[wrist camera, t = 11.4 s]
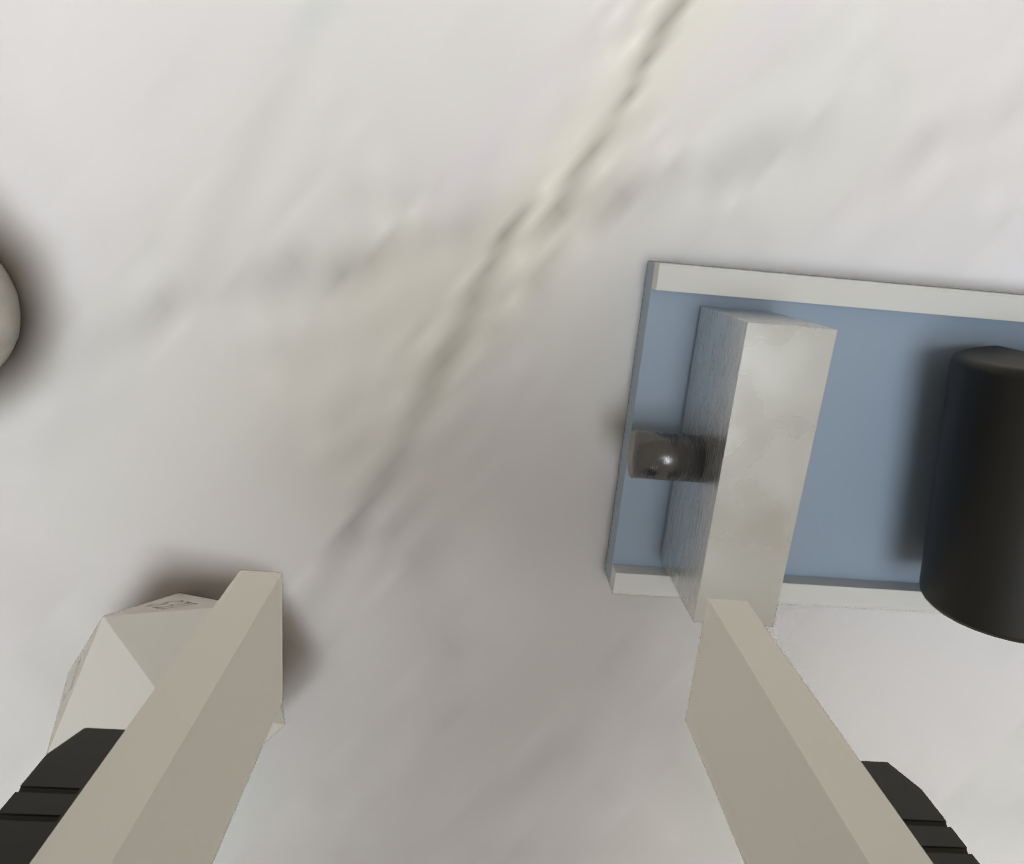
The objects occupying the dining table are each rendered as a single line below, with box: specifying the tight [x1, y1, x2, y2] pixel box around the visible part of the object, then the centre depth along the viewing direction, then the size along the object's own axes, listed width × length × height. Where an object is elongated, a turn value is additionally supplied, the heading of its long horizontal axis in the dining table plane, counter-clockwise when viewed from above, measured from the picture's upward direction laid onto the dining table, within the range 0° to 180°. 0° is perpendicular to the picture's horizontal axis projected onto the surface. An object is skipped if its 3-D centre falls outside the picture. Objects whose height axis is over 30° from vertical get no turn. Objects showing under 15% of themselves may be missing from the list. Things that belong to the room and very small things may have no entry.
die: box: [46, 593, 285, 755], centre depth 29 cm, size 8×9×10 cm
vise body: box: [605, 261, 1024, 613], centre depth 28 cm, size 14×26×6 cm, turn 85°
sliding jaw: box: [627, 306, 837, 627], centre depth 26 cm, size 11×6×5 cm, turn 175°
